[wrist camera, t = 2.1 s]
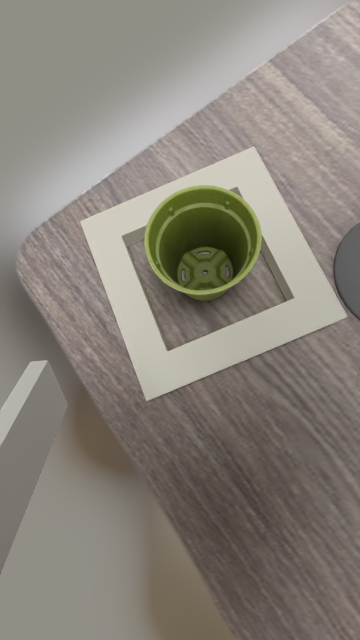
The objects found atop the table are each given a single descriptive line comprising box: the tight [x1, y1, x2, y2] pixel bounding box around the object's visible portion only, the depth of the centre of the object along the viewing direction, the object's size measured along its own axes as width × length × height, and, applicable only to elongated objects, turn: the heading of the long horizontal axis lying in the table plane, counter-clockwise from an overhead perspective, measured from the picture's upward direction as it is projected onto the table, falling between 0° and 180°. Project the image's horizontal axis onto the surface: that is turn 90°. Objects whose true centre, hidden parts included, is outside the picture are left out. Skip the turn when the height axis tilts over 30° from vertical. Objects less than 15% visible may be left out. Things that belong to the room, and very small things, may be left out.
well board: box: [80, 147, 347, 401], centre depth 32 cm, size 20×20×2 cm
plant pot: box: [144, 185, 262, 301], centre depth 29 cm, size 9×9×9 cm
